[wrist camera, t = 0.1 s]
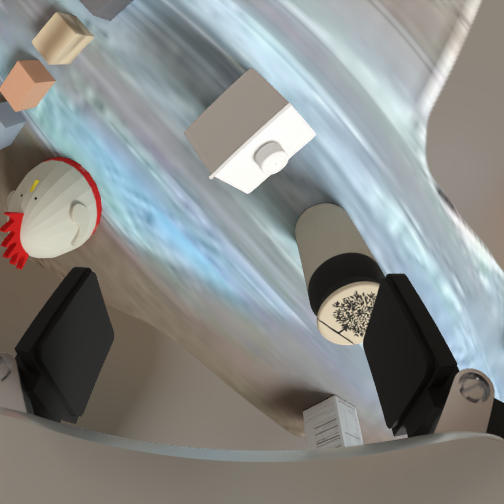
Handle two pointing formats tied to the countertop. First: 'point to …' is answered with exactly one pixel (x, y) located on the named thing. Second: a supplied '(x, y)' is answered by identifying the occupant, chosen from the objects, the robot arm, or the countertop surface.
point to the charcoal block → (105, 7)
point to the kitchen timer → (51, 211)
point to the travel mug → (337, 272)
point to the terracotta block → (26, 84)
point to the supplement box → (332, 425)
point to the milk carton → (248, 133)
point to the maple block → (62, 39)
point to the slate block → (9, 124)
